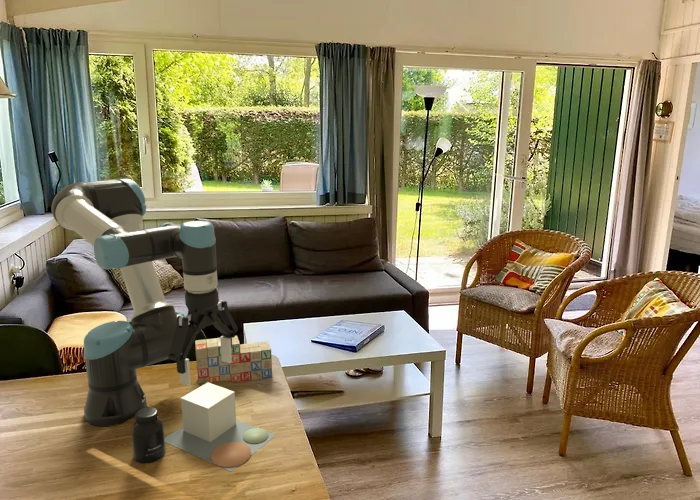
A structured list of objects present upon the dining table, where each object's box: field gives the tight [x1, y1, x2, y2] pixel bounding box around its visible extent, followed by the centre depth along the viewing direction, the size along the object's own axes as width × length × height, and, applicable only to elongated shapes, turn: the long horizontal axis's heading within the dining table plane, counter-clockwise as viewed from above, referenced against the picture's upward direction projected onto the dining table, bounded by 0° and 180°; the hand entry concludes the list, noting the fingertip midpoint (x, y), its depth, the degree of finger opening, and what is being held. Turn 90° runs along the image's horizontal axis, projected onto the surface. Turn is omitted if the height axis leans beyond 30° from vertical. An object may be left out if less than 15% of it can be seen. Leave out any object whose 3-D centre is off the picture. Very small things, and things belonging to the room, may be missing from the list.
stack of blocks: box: [194, 335, 273, 385], centre depth 162 cm, size 21×6×12 cm, turn 107°
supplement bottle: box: [131, 406, 166, 465], centre depth 124 cm, size 7×7×12 cm
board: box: [164, 419, 277, 473], centre depth 131 cm, size 22×16×5 cm
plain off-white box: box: [180, 382, 237, 442], centre depth 135 cm, size 9×9×9 cm
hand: (207, 372), depth 132 cm, fingers open, 13 cm apart
